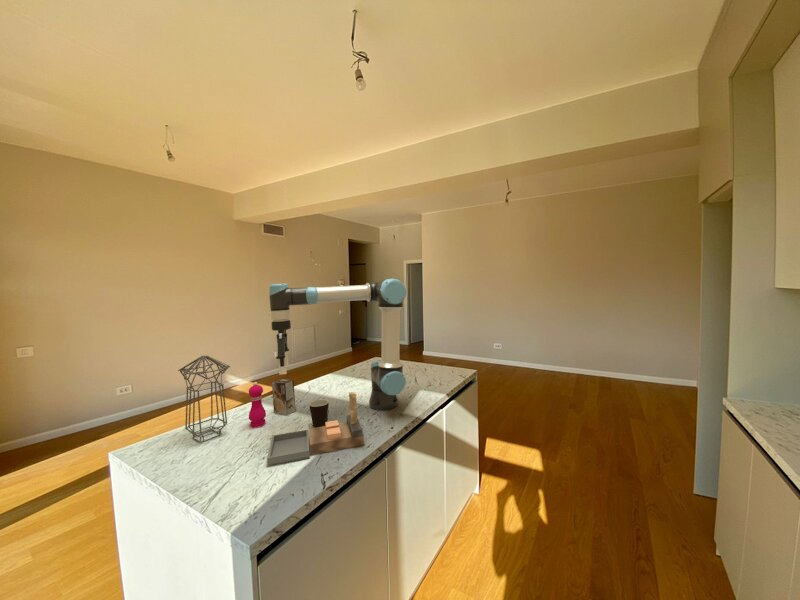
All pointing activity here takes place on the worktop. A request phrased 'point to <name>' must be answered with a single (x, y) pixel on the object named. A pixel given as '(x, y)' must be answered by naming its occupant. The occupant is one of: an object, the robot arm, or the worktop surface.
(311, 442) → the brown flat wooden block
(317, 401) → the coffee mug
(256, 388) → the pepper mill
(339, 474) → the worktop surface
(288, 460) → the tray
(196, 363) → the geometric lantern
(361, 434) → the scraper
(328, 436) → the tile
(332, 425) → the tile
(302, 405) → the worktop surface
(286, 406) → the coffee box
